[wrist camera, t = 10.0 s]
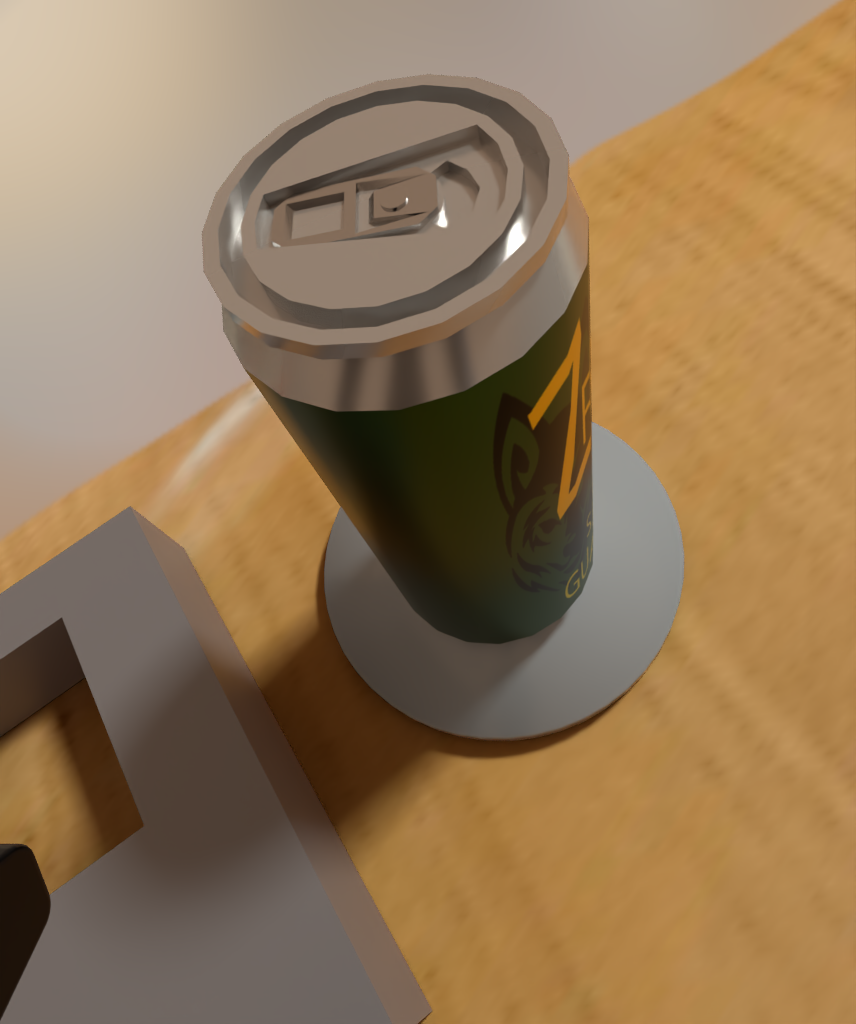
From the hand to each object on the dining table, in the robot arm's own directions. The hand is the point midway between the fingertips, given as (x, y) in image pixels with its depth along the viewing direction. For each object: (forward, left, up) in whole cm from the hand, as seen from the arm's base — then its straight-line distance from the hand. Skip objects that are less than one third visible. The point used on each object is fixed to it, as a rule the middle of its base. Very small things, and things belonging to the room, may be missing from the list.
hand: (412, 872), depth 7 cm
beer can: (+7, -2, -10) cm, 13 cm away
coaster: (+8, -2, -10) cm, 13 cm away
